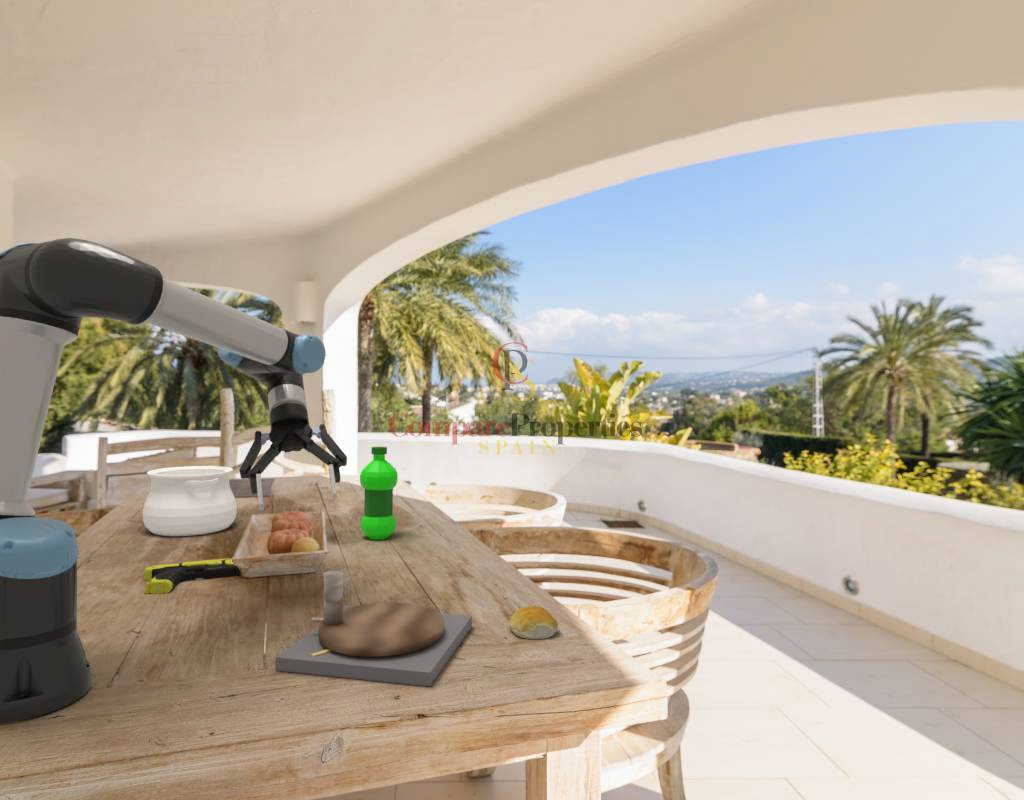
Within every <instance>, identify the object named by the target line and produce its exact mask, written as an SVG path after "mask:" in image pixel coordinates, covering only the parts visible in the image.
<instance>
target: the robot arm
mask: <svg viewBox="0 0 1024 800" xmlns="http://www.w3.org/2000/svg"><path fill="white" fill-rule="evenodd" d="M83 318H97V319H109V320H116V321H119V322H124V323H127V324H130V325H132V326H140V325H141V326H142V325H144V324H146V323H147V324H150V325H152V326H155V327H158V328H160V329H164V330H166V331H170V332H172V333H175V334H178V335H181V336H184V337H187V338H189V339H192V340H196V341H197V342H201V343H202V344H207V345H209V346H213V347H215V348H217V355H218V357H219V358H220V360H222V361H223V362H224V363H226V364H227V365H229V366H230V367H232V368H234V369H236V370H238V371H239V372H242V373H244V374H246V375H247V376H249V377H251V378H253V379H255V380H256V381H259V382H261V383H263V384H264V385H265V386H266V389H267V402H268V411H269V420H270V422H269V423H270V431H269V433H265V432H264V433H262V432H261V431H260V430H256V431H255V432H254V440H253V442H252V444H251V445H250V448H249V451H248V452H247V454H246V456H245V457H244V460H243V462H242V464H241V466H240V468H239V469H238V470H239V476H240V478H241V479H243V480H245V479H249V481H250V483H249V484H250V491H251V493H252V495H255V494H257V503H258V511H264V509H265V507H264V497H263V495H264V494H263V485H262V484H263V482H262V476H261V474H263V473H264V471H265V470H266V469H267V468H268V466H269V465H270V464H271V463H272V462H273V460H274V459H276V457H279V454H281V453H282V452H284V453H285V454H286V453H290V452H301V451H302V450H305V451H306V452H308V453H310V454H312V455H313V456H314V457H315V458H318V460H320V461H321V462H323V463H324V464H325V465H326V466H327V467H328V476H329V480H330V488H331V489H330V490H331V494H332V495H331V496H332V500H333V501H337V500H338V491H337V485H336V483H341V472H340V468H341V467H345V466H347V465H348V464H347V463H348V456H347V455H346V454H345V453H344V451H343V450H342V448H341V447H340V446H339V445H338V444H337V442H336V441H335V440H334V439H333V438H332V436H331V435H330V434H329V433H328V432H327V428H326V425H325V424H324V423H321V424H320V425H319V426H318V427H314V428H311V426H310V421H309V420H310V419H309V413H308V412H309V411H308V407H307V406H308V405H307V398H306V392H305V388H304V386H305V385H304V375H305V374H312V373H316V372H318V371H319V370H321V368H322V367H324V366H323V365H324V364H325V360H326V355H327V353H326V347H325V344H324V342H323V341H322V340H321V339H320V338H319V337H318V336H317V335H315V334H307V333H299V334H298V333H294V332H292V331H289V330H287V329H284V328H282V327H279V326H277V325H274V324H272V323H269V322H268V321H265V320H262V319H260V318H258V317H255V316H253V315H250V314H249V313H246V312H244V311H242V310H239V309H237V308H234V307H232V306H230V305H227V304H225V303H223V302H221V301H218V300H216V299H214V298H211V297H209V296H206V295H204V294H202V293H200V292H198V291H195V290H193V289H190V288H188V287H186V286H183V285H181V284H178V283H176V282H174V281H171V280H169V279H168V278H165V276H164V273H163V272H162V271H161V270H160V268H158V267H155V266H154V265H151V264H148V263H147V262H144V261H143V260H140V259H138V258H135V257H133V256H130V255H128V254H125V253H124V252H121V251H120V250H116V249H114V248H111V247H108V246H105V245H103V244H100V243H97V242H94V241H91V240H90V241H89V240H86V239H82V238H73V237H66V238H58V239H57V238H56V239H53V240H50V241H44V242H39V243H38V242H35V243H33V242H30V243H22V244H21V243H20V244H17V245H15V246H12V247H10V248H8V249H6V250H4V251H1V252H0V724H6V723H13V722H17V721H18V722H19V721H24V720H27V719H31V718H36V717H39V716H42V715H45V714H49V713H52V712H55V711H57V710H60V709H61V708H65V707H66V706H68V705H70V704H73V703H75V702H76V701H77V700H79V699H81V698H82V697H83V696H85V695H86V694H87V693H88V692H89V691H90V690H91V688H92V685H93V669H92V666H91V663H90V662H89V660H87V655H86V651H85V649H84V646H83V643H82V641H81V638H80V636H79V634H78V558H79V546H78V543H77V535H76V532H75V529H74V528H73V527H72V526H71V525H70V524H68V523H67V522H65V521H62V520H58V519H55V518H51V517H42V518H38V517H36V510H35V509H34V508H33V507H32V506H31V504H29V501H28V497H29V491H30V487H31V483H32V479H33V475H34V470H35V466H36V463H37V457H38V455H39V454H38V453H39V449H40V446H41V442H42V438H43V433H44V429H45V426H46V421H47V416H48V412H49V408H50V405H51V401H52V397H53V391H54V388H55V384H56V380H57V375H58V371H59V367H60V362H61V359H62V355H63V350H64V348H65V347H66V345H69V344H71V343H73V342H74V341H76V340H78V337H79V333H80V328H81V325H82V319H83ZM313 436H315V437H316V438H318V439H320V440H321V441H322V443H323V444H324V446H325V447H326V448H327V449H328V450H329V452H330V453H331V454H330V453H329V452H328V451H327V450H325V449H324V448H322V447H321V446H320V445H319V444H317V443H316V442H315V441H314V440H313ZM267 441H270V442H271V444H270V447H269V448H268V449H267V450H266V452H264V453H263V454H262V456H261V457H260V458H259V459H258V461H257V462H256V460H257V458H258V455H260V453H261V449H262V446H264V445H265V444H266V443H267ZM255 462H256V463H255Z"/></svg>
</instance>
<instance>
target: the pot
mask: <svg viewBox="0 0 1024 800" xmlns="http://www.w3.org/2000/svg"><path fill="white" fill-rule="evenodd" d="M233 472H234V468H233V467H229V466H220V465H187V466H184V465H183V466H174V467H173V466H172V467H163V468H162V467H161V468H158V469H157V468H156V469H152V470H148V471H147V472H146V475H147V476H149V477H150V491H149V492H148V494H147V498H146V499H145V503H143V510H142V522H143V524H144V527H145V528H146V529H147V530H148V531H149V532H150V533H152V534H153V535H157V536H162V537H164V536H165V537H190V536H191V537H194V536H201V535H207V534H213V533H217V532H218V533H219V532H221V531H223V530H226V529H228V528H229V527H230V526H231V525H232V524H233V522H234V521H235V519H236V516H237V511H238V509H237V507H238V506H237V500H236V497H235V495H234V493H233V491H232V488H231V486H230V485H231V484H230V474H231V473H233Z"/></svg>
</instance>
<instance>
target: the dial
mask: <svg viewBox="0 0 1024 800" xmlns="http://www.w3.org/2000/svg"><path fill="white" fill-rule="evenodd" d="M352 606H353V607H349V608H346V609H343V607H344V571H341V570H329V571H325V572H324V573H323V617H311V618H310V624H318V625H319V641H320V643H321V644H322V645H323V646H325V647H326V648H328V649H330V650H332V651H335V652H338V653H342V654H347V655H353V656H366V657H378V656H391V655H399V654H404V653H409V652H413V651H416V650H420V649H422V648H425V647H427V646H429V645H431V644H433V643H435V642H436V641H438V640H439V639H440V638H441V637H442V635H443V633H444V618H443V616H442V615H441V614H440V613H441V612H439V611H437V610H435V609H433V608H431V607H427V606H426V605H425V606H424V605H421V604H417V603H415V604H414V603H409V602H393V601H392V602H391V601H390V602H388V601H387V602H373V603H365V604H358V605H352Z"/></svg>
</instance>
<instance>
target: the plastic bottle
mask: <svg viewBox="0 0 1024 800" xmlns="http://www.w3.org/2000/svg"><path fill="white" fill-rule="evenodd" d="M387 453H388V447H387V446H372V447H371V455H373V459H372V460H371V461H370V462H369V463H367V464H366V465H365V467H363V469H362V470H361V472H360V474H359V483H360V486H361V487H362V488H363V489H364V510H363V511H364V512H363V513H364V515H363V517H362V518H361V522H360V529H361V532H363V534H364V536H366V537H367V538H368V539H370V540H375V541H376V540H377V541H378V540H385V539H388V537H390V536H391V535H392V534H393V533H394V532H395V529H396V528H397V527H396V526H397V520H396V517H395V514H394V511H393V509H394V507H393V504H394V499H393V498H394V495H393V494H394V493H393V492H394V488H395V487H396V486H397V484H398V471H397V468H395V467H394V466H393V465H392V464H391V463H390V462H389V461H387V460H386V455H388V454H387Z"/></svg>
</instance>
